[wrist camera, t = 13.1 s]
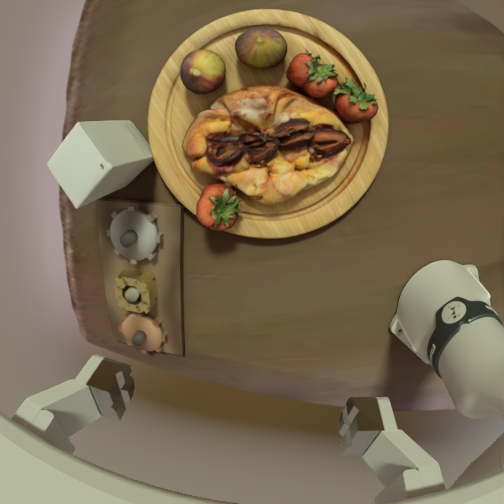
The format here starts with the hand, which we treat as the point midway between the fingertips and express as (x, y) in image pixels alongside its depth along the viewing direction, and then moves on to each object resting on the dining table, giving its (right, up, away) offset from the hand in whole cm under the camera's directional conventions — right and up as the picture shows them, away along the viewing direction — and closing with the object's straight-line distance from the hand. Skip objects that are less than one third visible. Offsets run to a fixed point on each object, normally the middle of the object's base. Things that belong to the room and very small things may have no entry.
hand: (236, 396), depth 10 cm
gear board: (-17, 0, +37) cm, 41 cm away
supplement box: (-17, +19, +29) cm, 39 cm away
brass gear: (-17, 0, +36) cm, 40 cm away
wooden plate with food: (+3, +22, +27) cm, 35 cm away
